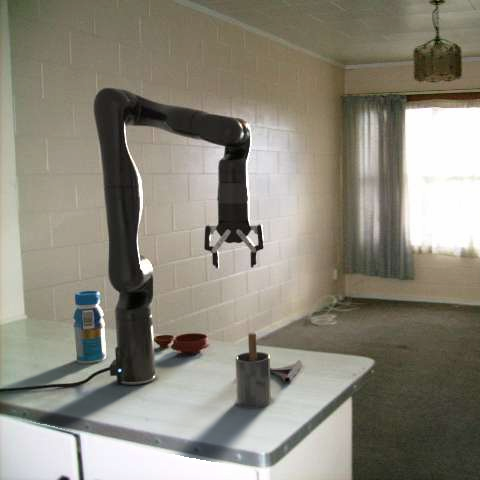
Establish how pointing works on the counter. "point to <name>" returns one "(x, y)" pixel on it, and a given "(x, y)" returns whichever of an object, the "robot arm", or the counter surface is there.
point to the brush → (252, 347)
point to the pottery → (184, 342)
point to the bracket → (287, 371)
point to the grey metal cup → (253, 380)
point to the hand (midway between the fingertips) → (234, 267)
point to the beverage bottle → (89, 328)
